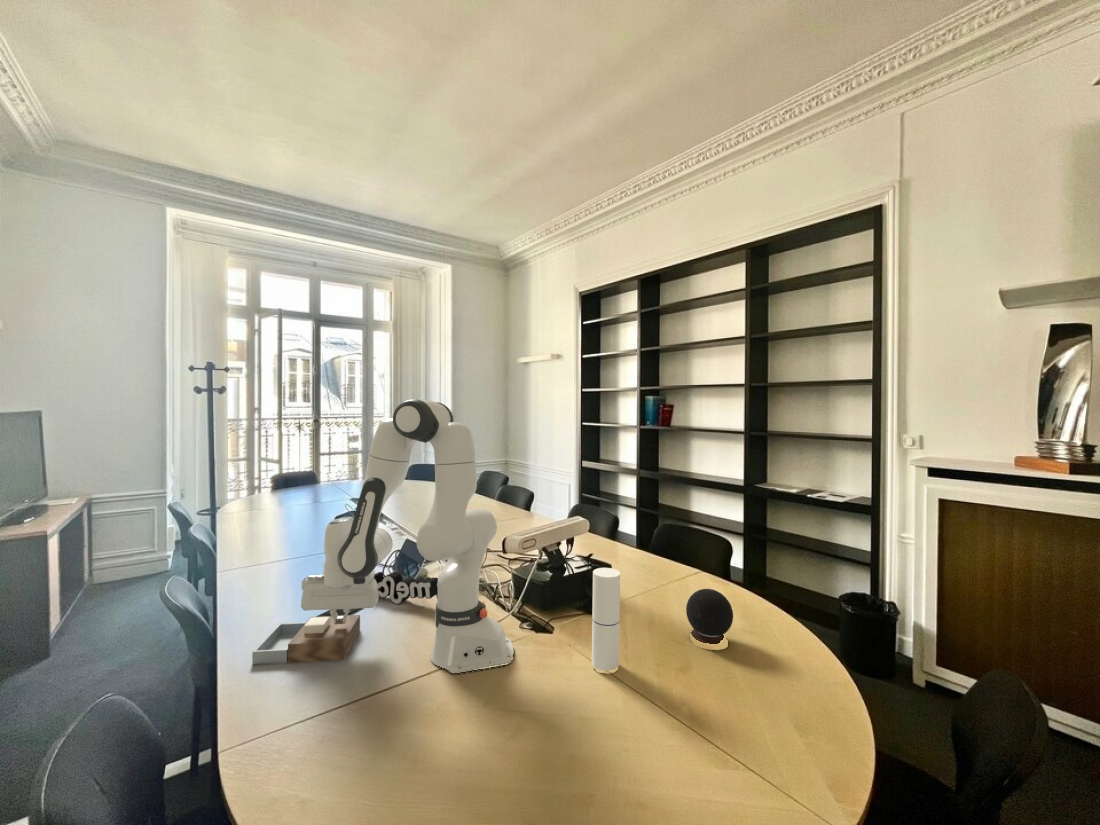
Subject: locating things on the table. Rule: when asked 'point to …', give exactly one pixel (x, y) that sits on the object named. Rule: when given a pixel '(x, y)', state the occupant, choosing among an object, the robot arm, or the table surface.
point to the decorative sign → (405, 587)
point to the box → (276, 644)
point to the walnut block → (324, 642)
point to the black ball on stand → (709, 615)
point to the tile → (316, 625)
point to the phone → (339, 612)
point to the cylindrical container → (605, 618)
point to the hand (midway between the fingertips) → (340, 623)
